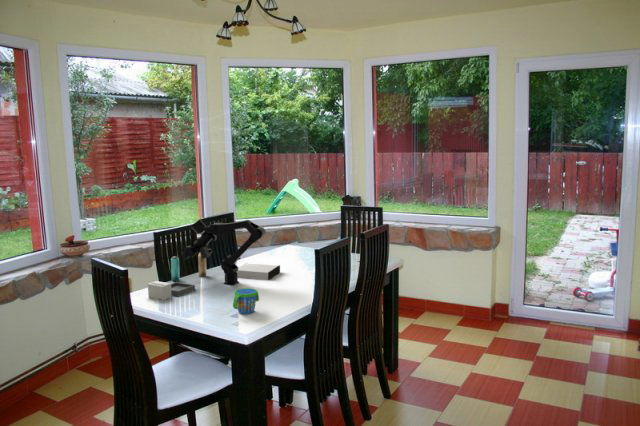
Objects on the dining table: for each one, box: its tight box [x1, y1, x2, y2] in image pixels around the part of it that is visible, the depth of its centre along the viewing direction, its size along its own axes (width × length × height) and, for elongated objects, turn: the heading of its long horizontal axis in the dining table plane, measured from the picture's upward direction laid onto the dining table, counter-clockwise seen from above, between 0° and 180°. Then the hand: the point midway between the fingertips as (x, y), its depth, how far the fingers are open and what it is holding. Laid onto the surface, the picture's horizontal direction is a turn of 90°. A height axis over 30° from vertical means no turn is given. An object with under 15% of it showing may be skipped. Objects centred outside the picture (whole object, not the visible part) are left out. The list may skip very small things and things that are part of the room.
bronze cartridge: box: [197, 252, 207, 278], centre depth 303 cm, size 4×4×14 cm
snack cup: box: [232, 287, 260, 315], centre depth 240 cm, size 16×10×10 cm
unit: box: [147, 280, 173, 301], centre depth 263 cm, size 10×6×7 cm, turn 63°
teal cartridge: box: [170, 255, 181, 283], centre depth 293 cm, size 4×4×14 cm
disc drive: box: [236, 262, 281, 281], centre depth 307 cm, size 18×22×5 cm
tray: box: [171, 281, 196, 297], centre depth 273 cm, size 13×13×3 cm
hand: (186, 258), depth 291 cm, fingers open, 9 cm apart
